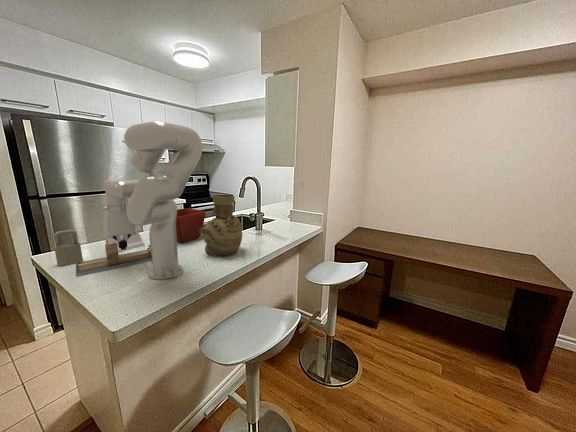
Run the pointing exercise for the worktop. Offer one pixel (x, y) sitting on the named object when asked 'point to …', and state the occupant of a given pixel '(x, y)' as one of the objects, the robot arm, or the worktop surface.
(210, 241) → the ceramic vessel
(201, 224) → the plant pot
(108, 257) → the slider leg
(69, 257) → the padlock
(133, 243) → the hinge
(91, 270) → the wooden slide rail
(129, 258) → the rail
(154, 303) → the worktop surface
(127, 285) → the worktop surface
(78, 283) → the worktop surface
